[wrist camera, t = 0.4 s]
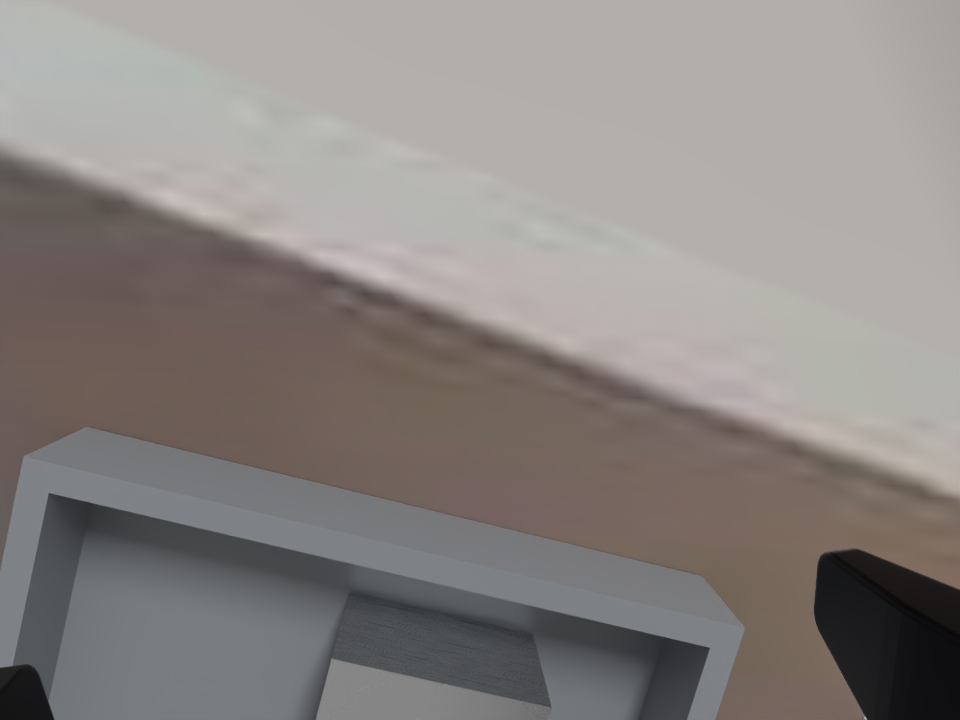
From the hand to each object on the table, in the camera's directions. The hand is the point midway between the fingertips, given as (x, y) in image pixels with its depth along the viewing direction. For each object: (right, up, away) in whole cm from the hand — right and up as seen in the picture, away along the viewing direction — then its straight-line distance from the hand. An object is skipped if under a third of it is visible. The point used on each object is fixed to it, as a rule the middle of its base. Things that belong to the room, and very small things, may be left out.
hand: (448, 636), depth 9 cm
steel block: (-2, -8, +15) cm, 17 cm away
